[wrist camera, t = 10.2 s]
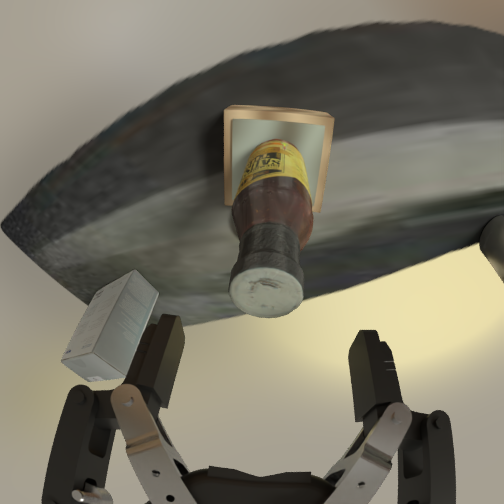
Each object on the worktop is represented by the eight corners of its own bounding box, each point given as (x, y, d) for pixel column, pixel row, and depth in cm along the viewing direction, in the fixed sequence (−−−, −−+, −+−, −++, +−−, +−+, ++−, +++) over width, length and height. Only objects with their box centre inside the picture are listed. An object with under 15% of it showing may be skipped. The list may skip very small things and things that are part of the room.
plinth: (326, 112, 30) (335, 119, 26) (315, 195, 37) (320, 214, 33) (231, 105, 31) (223, 110, 26) (230, 189, 38) (224, 206, 34)
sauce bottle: (274, 125, 27) (272, 212, 11) (315, 163, 29) (358, 289, 13) (235, 165, 30) (186, 290, 14) (275, 199, 32) (270, 341, 17)
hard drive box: (119, 311, 58) (87, 382, 42) (96, 290, 54) (58, 360, 39) (161, 293, 52) (127, 379, 36) (135, 266, 49) (90, 352, 33)
